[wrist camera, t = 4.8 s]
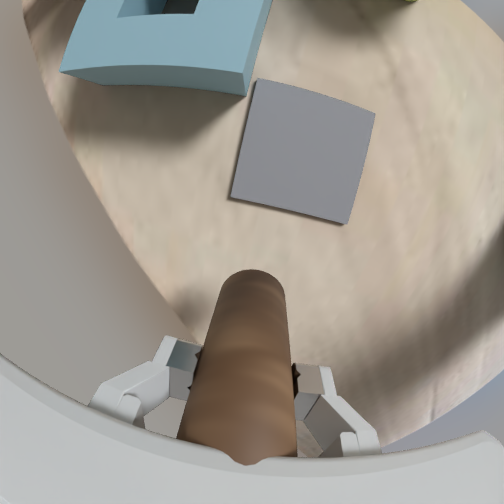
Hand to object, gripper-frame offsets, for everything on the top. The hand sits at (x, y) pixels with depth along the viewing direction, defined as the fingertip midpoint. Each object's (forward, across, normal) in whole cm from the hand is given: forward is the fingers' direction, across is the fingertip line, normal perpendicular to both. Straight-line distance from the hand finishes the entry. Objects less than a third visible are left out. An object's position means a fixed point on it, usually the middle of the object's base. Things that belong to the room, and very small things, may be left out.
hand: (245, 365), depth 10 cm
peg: (+5, 0, 0) cm, 5 cm away
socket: (+12, +9, -18) cm, 23 cm away
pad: (+12, -2, -8) cm, 15 cm away
